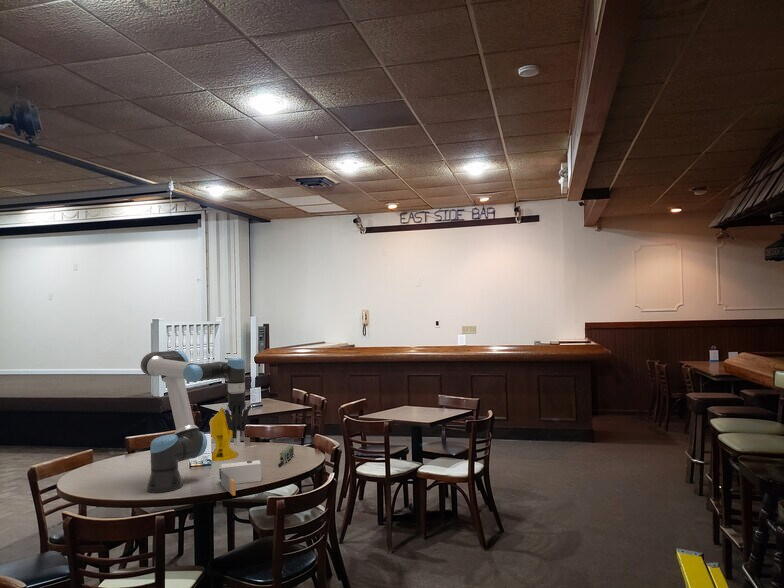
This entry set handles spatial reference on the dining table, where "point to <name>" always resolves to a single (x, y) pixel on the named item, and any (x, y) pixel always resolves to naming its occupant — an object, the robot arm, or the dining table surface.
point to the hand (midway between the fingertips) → (237, 445)
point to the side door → (228, 482)
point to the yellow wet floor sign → (221, 438)
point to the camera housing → (243, 471)
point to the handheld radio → (286, 454)
